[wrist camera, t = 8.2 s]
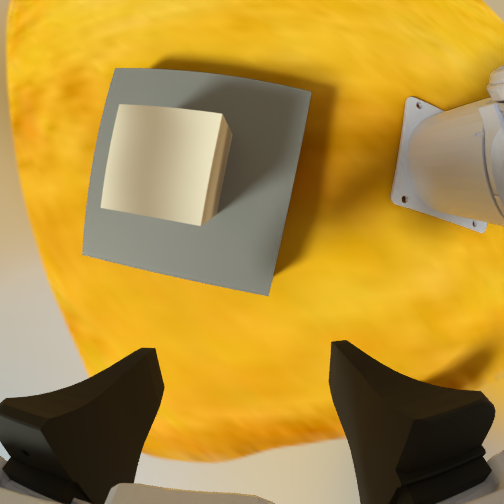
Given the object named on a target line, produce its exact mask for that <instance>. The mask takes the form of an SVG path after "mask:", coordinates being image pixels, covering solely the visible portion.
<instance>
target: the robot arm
mask: <svg viewBox="0 0 504 504" xmlns="http://www.w3.org/2000/svg"><path fill="white" fill-rule="evenodd" d="M487 92H488V93H489V95H490V96H491V97H489V98H486V99H483V100H479V101H476V102H473V103H470V104H467V105H463V106H460V107H457V108H454V109H451V110H448V111H443V110H441V109H439V108H437V107H435V106H433V105H431V104H428V103H426V102H424V101H422V100H419V99H417V98H415V97H409V98H407V99H406V102H405V110H404V118H403V126H402V133H401V140H400V146H399V153H398V159H397V164H396V170H395V175H394V181H393V186H392V191H391V196H390V198H391V201H392V202H393V203H394V204H396V205H399V206H402V207H406V208H409V209H412V210H415V211H418V212H422V213H425V214H428V215H431V216H434V217H437V218H440V219H443V220H446V221H449V222H452V223H454V224H457V225H460V226H463V227H466V228H468V229H471V230H474V231H477V232H479V233H484V232H485V230H486V227H487V223H491V224H496V225H500V226H504V65H503V66H501V67H499V68H497V69H496V70H494V71H493V72H491V74H490V78H489V84H488V85H487ZM416 104H419V106H420V109H419V108H417V106H416ZM403 196H405V198H406V200H405V202H404V203H403V202H402V197H403ZM473 221H474V226H473ZM329 386H330V390H331V395H332V399H333V403H334V406H335V408H336V411H337V414H338V416H339V419H340V421H341V424H342V427H343V429H344V432H345V435H346V437H347V440H348V443H349V446H350V450H351V454H352V459H353V463H354V468H355V473H356V477H357V484H358V490H359V496H360V502H361V504H504V450H503V451H501V452H500V453H498V454H496V455H494V456H493V457H492V458H490V459H489V460H488V461H487V462H486V461H485V459H484V458H483V456H484V455H485V453H486V452H485V449H484V448H483V446H482V443H483V441H484V439H485V437H486V435H487V434H488V432H489V430H490V428H491V426H492V423H493V420H494V417H495V408H494V405H493V404H492V403H491V402H490V401H489V400H488V398H487V397H486V396H485V395H484V394H483V393H482V392H481V391H470V390H457V389H451V388H445V387H440V386H435V385H431V384H428V383H425V382H421V381H418V380H415V379H413V378H410V377H408V376H405V375H403V374H401V373H398V372H396V371H394V370H392V369H391V368H389V367H387V366H385V365H383V364H382V363H380V362H378V361H377V360H375V359H373V358H372V357H370V356H369V355H367V354H366V353H364V352H363V351H361V350H360V349H359V348H357V347H356V346H354V345H353V344H351V343H350V342H348V341H347V340H343V341H333V342H331V358H330V372H329ZM163 391H164V383H163V379H162V375H161V371H160V367H159V362H158V358H157V354H156V349H155V348H141V349H138V350H137V351H135V352H133V353H131V354H130V355H128V356H127V357H125V358H123V359H122V360H120V361H119V362H117V363H115V364H114V365H112V366H110V367H109V368H107V369H105V370H103V371H101V372H100V373H98V374H96V375H94V376H92V377H90V378H88V379H86V380H84V381H82V382H79V383H77V384H75V385H72V386H69V387H66V388H63V389H60V390H57V391H53V392H50V393H45V394H41V395H34V396H28V397H17V398H6V399H5V400H3V401H2V402H1V403H0V442H1V443H2V445H3V446H4V448H5V449H6V451H7V452H8V454H9V455H10V456H11V458H10V459H9V460H8V462H7V461H6V460H5V459H4V458H3V457H1V456H0V504H275V503H273V502H271V501H268V500H266V499H263V498H260V497H258V496H255V495H246V494H238V493H218V492H201V491H189V490H179V489H170V488H163V487H156V486H149V485H143V484H134V479H135V474H136V470H137V466H138V462H139V458H140V454H141V451H142V448H143V445H144V442H145V440H146V438H147V435H148V433H149V431H150V428H151V426H152V424H153V421H154V419H155V417H156V414H157V412H158V409H159V407H160V404H161V400H162V396H163Z"/></svg>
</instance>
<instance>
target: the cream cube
mask: <svg viewBox="0 0 504 504" xmlns="http://www.w3.org/2000/svg"><path fill="white" fill-rule="evenodd" d="M232 135H233V134H232V132H231V130H230V128H229V126H228V124H227V122H226V120H225V118H224V116H223V114H220V113H213V112H206V111H198V110H189V109H180V108H170V107H159V106H145V105H127V104H119V107H118V112H117V116H116V120H115V125H114V129H113V134H112V139H111V144H110V149H109V155H108V160H107V166H106V172H105V179H104V185H103V192H102V200H101V208H105V209H110V210H116V211H121V212H127V213H133V214H138V215H144V216H149V217H155V218H160V219H165V220H171V221H176V222H181V223H187V224H192V225H197V226H201V225H203V224H204V223H206V222H207V221H208V220H210V219H211V218H213V217H214V216H215V215H217V212H218V206H219V201H220V196H221V190H222V185H223V180H224V175H225V170H226V165H227V160H228V155H229V150H230V145H231V140H232Z"/></svg>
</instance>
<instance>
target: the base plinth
mask: <svg viewBox="0 0 504 504" xmlns="http://www.w3.org/2000/svg"><path fill="white" fill-rule="evenodd" d="M311 93H312V92H311V91H307V90H303V89H298V88H294V87H290V86H285V85H280V84H275V83H270V82H265V81H260V80H254V79H248V78H242V77H235V76H228V75H221V74H213V73H204V72H194V71H182V70H167V69H143V68H115V71H114V74H113V78H112V81H111V84H110V88H109V92H108V95H107V99H106V103H105V107H104V111H103V115H102V119H101V124H100V128H99V133H98V137H97V142H96V147H95V153H94V158H93V164H92V170H91V176H90V183H89V190H88V198H87V206H86V215H85V226H84V238H83V253H82V255H85V256H89V257H93V258H97V259H101V260H105V261H109V262H113V263H118V264H122V265H126V266H130V267H134V268H139V269H143V270H147V271H151V272H156V273H160V274H165V275H169V276H173V277H178V278H183V279H187V280H192V281H196V282H201V283H206V284H210V285H215V286H220V287H225V288H230V289H235V290H240V291H245V292H250V293H255V294H260V295H265V296H269V292H270V287H271V283H272V279H273V274H274V270H275V266H276V261H277V257H278V252H279V248H280V243H281V239H282V234H283V230H284V225H285V221H286V216H287V212H288V207H289V202H290V198H291V193H292V188H293V184H294V179H295V174H296V169H297V164H298V159H299V155H300V150H301V145H302V140H303V135H304V130H305V125H306V119H307V114H308V109H309V104H310V99H311ZM119 104H127V105H145V106H159V107H170V108H180V109H189V110H198V111H206V112H213V113H220V114H223V116H224V118H225V120H226V122H227V124H228V126H229V128H230V130H231V132H232V134H233V135H232V140H231V145H230V150H229V155H228V160H227V165H226V170H225V175H224V180H223V185H222V190H221V196H220V201H219V206H218V212H217V215H215V216H214V217H213V218H211V219H210V220H208V221H207V222H206V223H204V224H203V225H201V226H197V225H192V224H187V223H181V222H176V221H171V220H165V219H160V218H155V217H149V216H144V215H138V214H133V213H127V212H121V211H116V210H110V209H105V208H101V200H102V192H103V185H104V179H105V172H106V166H107V160H108V155H109V149H110V144H111V139H112V134H113V129H114V125H115V120H116V116H117V112H118V107H119Z"/></svg>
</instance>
